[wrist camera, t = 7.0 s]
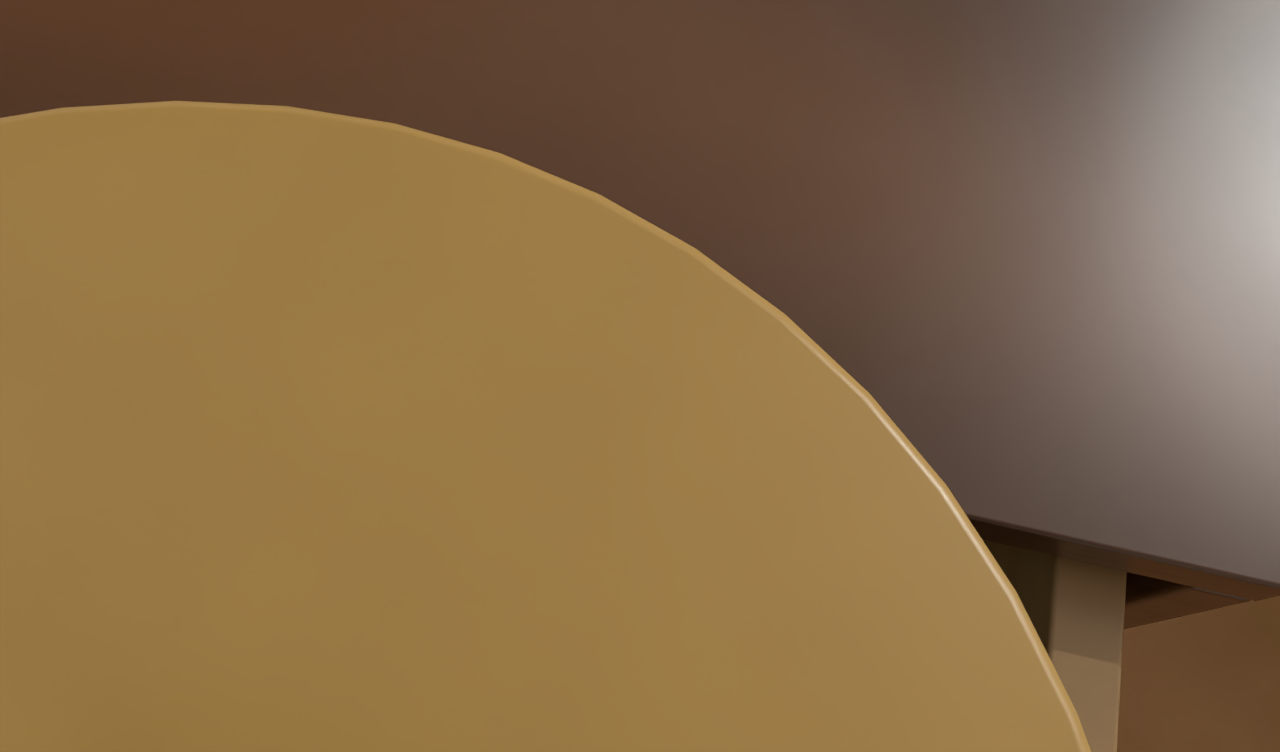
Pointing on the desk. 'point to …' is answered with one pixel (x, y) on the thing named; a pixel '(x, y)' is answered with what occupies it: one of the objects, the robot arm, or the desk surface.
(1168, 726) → the desk surface
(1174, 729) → the desk surface
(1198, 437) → the brown wooden box
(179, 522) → the tin
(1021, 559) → the drawer
